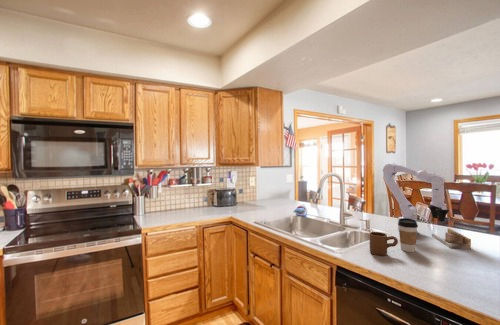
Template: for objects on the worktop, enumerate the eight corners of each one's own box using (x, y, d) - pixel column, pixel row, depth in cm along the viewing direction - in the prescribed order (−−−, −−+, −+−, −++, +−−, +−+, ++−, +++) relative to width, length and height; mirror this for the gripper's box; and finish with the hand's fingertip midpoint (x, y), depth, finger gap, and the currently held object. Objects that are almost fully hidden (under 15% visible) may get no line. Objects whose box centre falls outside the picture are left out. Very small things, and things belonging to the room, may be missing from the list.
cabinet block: (450, 246, 123) (449, 233, 123) (445, 243, 128) (445, 231, 128) (462, 247, 122) (462, 234, 122) (457, 244, 126) (457, 231, 126)
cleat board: (449, 247, 122) (449, 238, 122) (431, 236, 140) (431, 227, 140) (470, 249, 119) (470, 239, 119) (450, 237, 138) (450, 228, 138)
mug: (397, 253, 116) (397, 233, 116) (398, 259, 109) (398, 238, 109) (369, 249, 122) (369, 230, 122) (369, 254, 115) (369, 235, 115)
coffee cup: (416, 248, 122) (415, 218, 122) (420, 254, 114) (419, 223, 114) (397, 246, 126) (396, 217, 125) (399, 251, 118) (399, 221, 118)
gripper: (453, 198, 130) (453, 223, 131) (439, 194, 144) (439, 217, 145) (437, 198, 132) (438, 222, 132) (426, 194, 146) (426, 216, 146)
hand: (438, 219), depth 139 cm, fingers open, 7 cm apart
